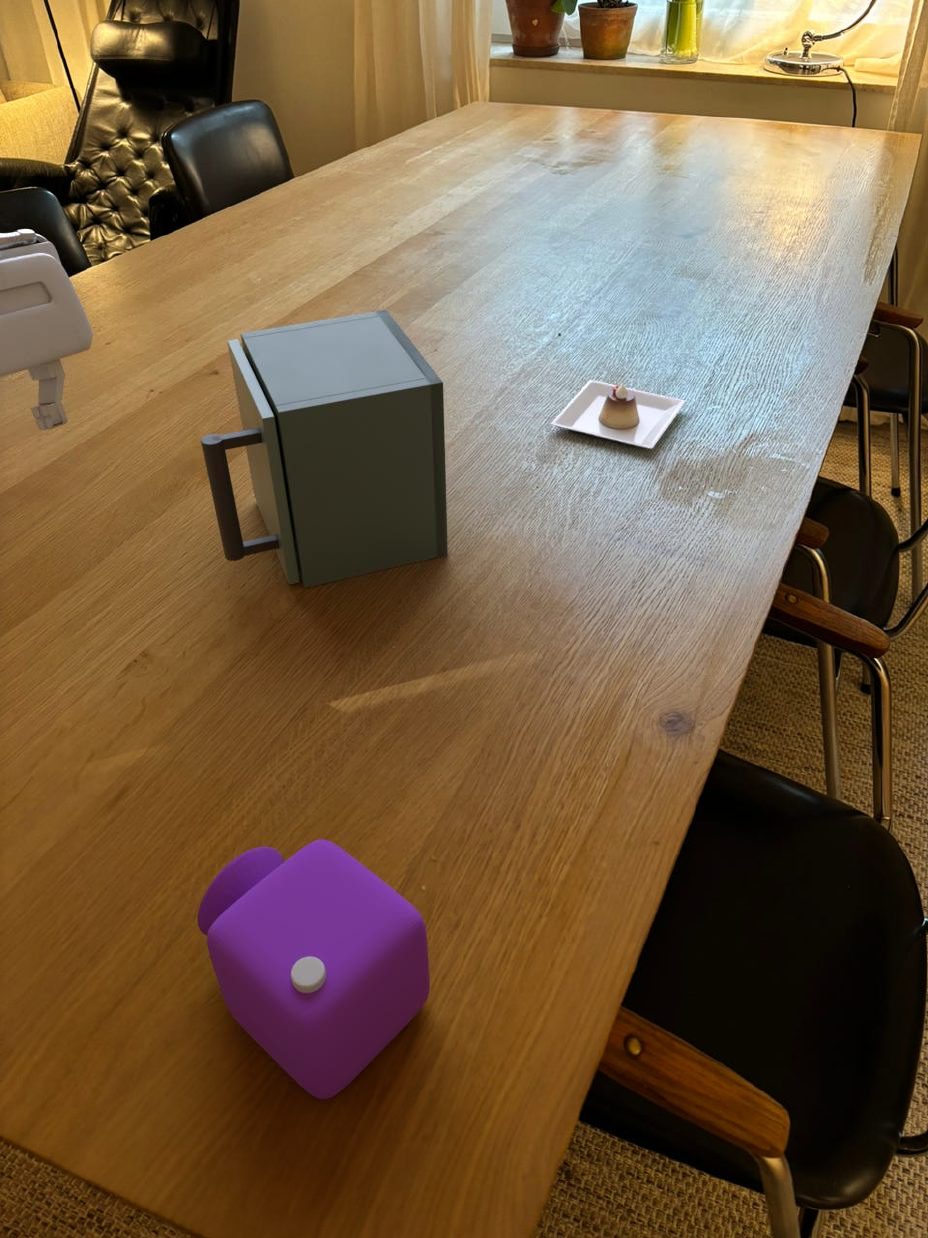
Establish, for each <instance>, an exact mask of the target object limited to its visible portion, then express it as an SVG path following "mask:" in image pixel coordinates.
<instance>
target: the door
mask: <svg viewBox="0 0 928 1238" xmlns="http://www.w3.org/2000/svg"><path fill="white" fill-rule="evenodd" d="M226 342H227V343H226V344H227V348H228V354H229V359H230V365H231V370H232V376H233V383H234V387H235V391H236V392H235V394H236V399H237V404H238V411H239V415H240V421H241V427H242V430H239V431H233V432H229V433H224V434H218V433H209V434H206V435H204V436H203V437H201V439H200V443H201V444H200V445H201V448H202V453H203V458H204V462H205V468H206V472H207V476H208V481H209V486H210V492H211V496H212V501H213V506H214V511H215V515H216V521H217V524H218V525H217V526H218V529H219V534H220V540H221V545H222V549H223V553H224V558H225V559H226V560H227V561H229V562H237V561H241V560H242V559H244V558H245V557H246V556H251V555H256V554H259V553H264V552H268V551H269V552H270V551H273V550H274V551H275V553H276V556H277V558H278V560H279V563H280V565H281V568H282V571H283V573H284V575H285V578H286V581H287V584H288V585H294V584H297V583H300V576H299V573H298V569H297V562H296V556H295V549H294V542H293V536H292V529H291V523H290V516H289V509H288V503H287V496H286V490H285V483H284V476H283V470H282V463H281V456H280V450H279V443H278V437H277V430H276V423H275V417H274V415H273V413H272V410H271V408H270V406H269V404H268V402H267V400H266V398H265V396H264V393H263V391H262V389H261V387H260V385H259V383H258V381H257V379H256V376H255V374H254V372H253V370H252V368H251V366H250V364H249V362H248V359H247V357H246V355H245V353H244V351H243V346H242V344H241V343H240V340H239V339H238V338H235V339H228V340H227V341H226ZM242 447H245V450H246V455H247V456H246V457H247V462H248V467H249V473H250V478H251V484H252V489H253V494H254V495H253V496H254V499H255V501H256V505H257V507H258V509H259V511H260V514H261V517H262V520H263V523H264V525H265V527H266V530H267V533H268V534H269V535H267V536H263V537H259V538H254V539H250V540H245V541H243V535H242V530H241V524H240V519H239V515H238V509H237V505H236V499H235V494H234V488H233V484H232V483H233V482H232V477H231V472H230V467H229V463H228V462H229V461H228V458H227V452H226V450H232V449H233V450H234V449H237V448H242Z"/></svg>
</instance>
